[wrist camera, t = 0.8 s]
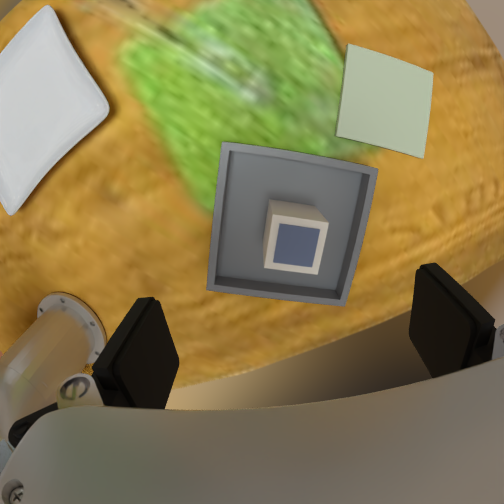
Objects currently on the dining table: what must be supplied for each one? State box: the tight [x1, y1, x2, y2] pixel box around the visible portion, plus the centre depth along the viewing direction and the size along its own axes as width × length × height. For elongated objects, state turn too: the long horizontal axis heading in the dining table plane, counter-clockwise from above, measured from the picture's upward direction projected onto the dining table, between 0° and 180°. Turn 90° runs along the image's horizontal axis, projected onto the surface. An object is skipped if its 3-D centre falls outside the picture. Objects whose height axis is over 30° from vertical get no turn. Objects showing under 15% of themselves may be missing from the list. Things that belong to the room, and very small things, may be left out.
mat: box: [335, 44, 433, 159], centre depth 29 cm, size 11×11×1 cm
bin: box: [206, 142, 378, 306], centre depth 33 cm, size 16×16×3 cm
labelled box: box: [263, 199, 329, 275], centre depth 31 cm, size 5×5×7 cm
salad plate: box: [0, 5, 110, 216], centre depth 28 cm, size 21×21×3 cm
